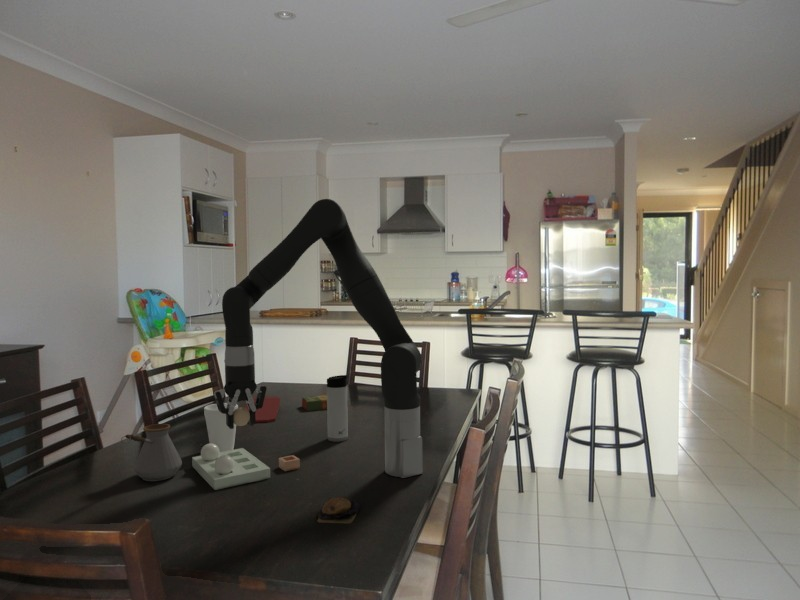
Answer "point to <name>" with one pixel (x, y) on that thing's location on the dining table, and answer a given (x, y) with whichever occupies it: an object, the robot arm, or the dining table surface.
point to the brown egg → (241, 416)
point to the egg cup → (289, 463)
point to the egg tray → (242, 473)
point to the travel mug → (337, 408)
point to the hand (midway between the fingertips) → (241, 426)
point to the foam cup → (219, 428)
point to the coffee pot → (156, 454)
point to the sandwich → (338, 511)
